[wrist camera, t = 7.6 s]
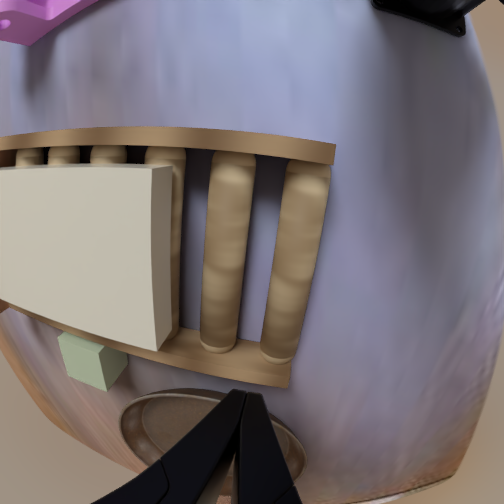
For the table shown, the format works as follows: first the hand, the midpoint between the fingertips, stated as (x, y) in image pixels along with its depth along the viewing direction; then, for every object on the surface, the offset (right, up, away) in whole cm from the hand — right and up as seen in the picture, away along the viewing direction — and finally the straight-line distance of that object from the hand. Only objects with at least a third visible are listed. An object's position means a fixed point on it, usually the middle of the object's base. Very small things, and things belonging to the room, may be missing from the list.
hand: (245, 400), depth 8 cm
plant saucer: (-3, -13, +18) cm, 22 cm away
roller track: (-8, +5, +12) cm, 15 cm away
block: (-12, -3, +15) cm, 20 cm away
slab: (-12, +5, +10) cm, 16 cm away
